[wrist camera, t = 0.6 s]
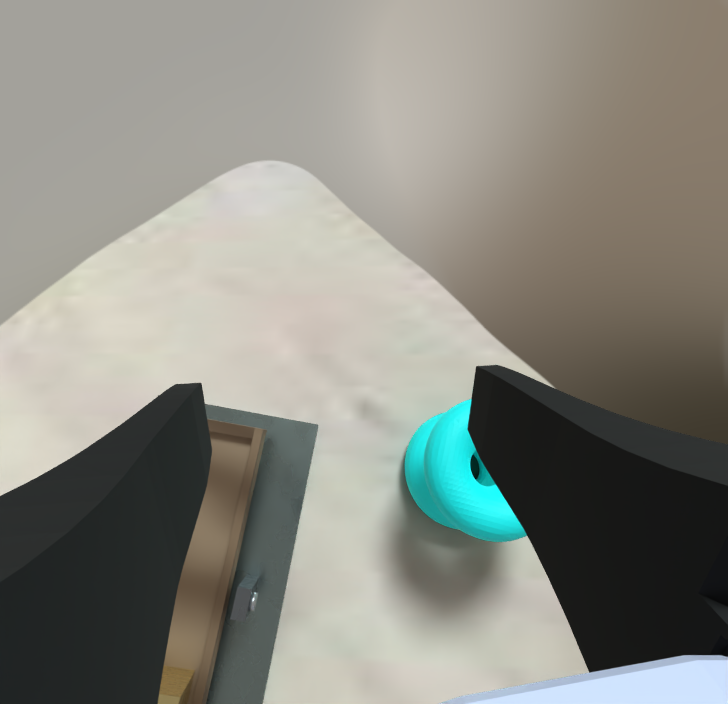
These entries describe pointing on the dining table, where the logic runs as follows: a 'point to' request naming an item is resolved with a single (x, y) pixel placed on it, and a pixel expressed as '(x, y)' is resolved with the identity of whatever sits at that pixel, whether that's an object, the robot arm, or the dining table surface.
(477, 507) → the donuts
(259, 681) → the stand
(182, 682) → the block
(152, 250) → the dining table surface
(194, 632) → the brown long flat tray
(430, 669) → the dining table surface
